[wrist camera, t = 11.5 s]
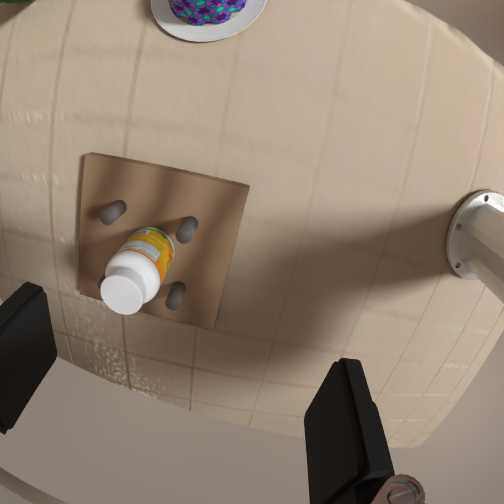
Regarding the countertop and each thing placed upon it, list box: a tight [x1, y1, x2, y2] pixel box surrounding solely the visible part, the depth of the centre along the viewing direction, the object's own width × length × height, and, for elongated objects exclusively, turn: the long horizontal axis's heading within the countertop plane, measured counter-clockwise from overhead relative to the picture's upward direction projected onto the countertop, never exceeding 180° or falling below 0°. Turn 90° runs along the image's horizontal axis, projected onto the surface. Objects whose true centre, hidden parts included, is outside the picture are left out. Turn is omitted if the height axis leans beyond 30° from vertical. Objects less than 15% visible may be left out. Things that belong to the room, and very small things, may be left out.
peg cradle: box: [79, 152, 250, 330], centre depth 33 cm, size 18×18×5 cm
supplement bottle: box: [100, 227, 174, 315], centre depth 30 cm, size 5×5×10 cm
